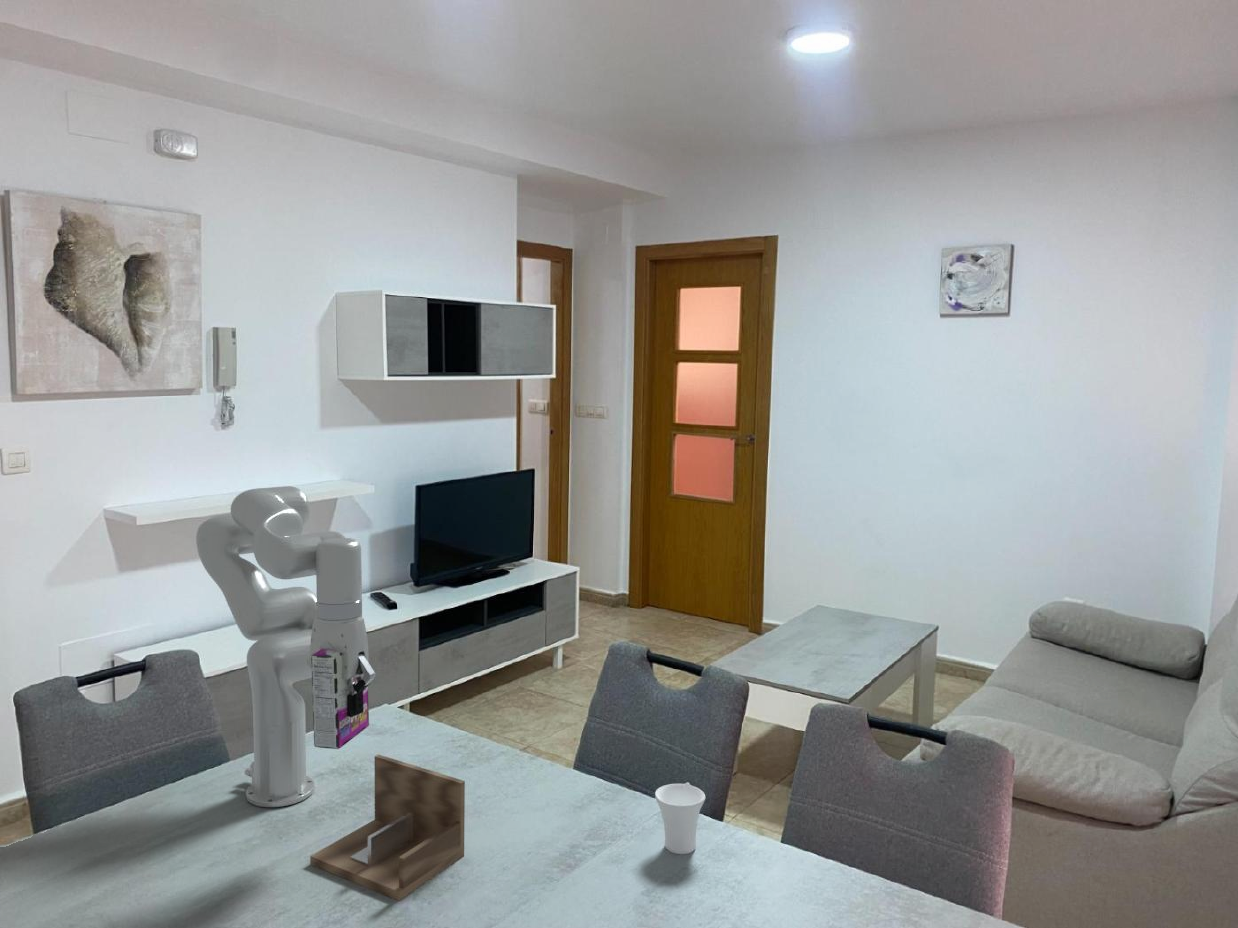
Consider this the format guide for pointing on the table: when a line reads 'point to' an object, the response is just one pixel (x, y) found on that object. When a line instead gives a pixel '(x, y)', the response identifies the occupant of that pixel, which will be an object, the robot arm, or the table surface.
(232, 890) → the table surface
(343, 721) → the candy bar box
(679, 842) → the cup
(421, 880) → the shelf
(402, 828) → the bookend
